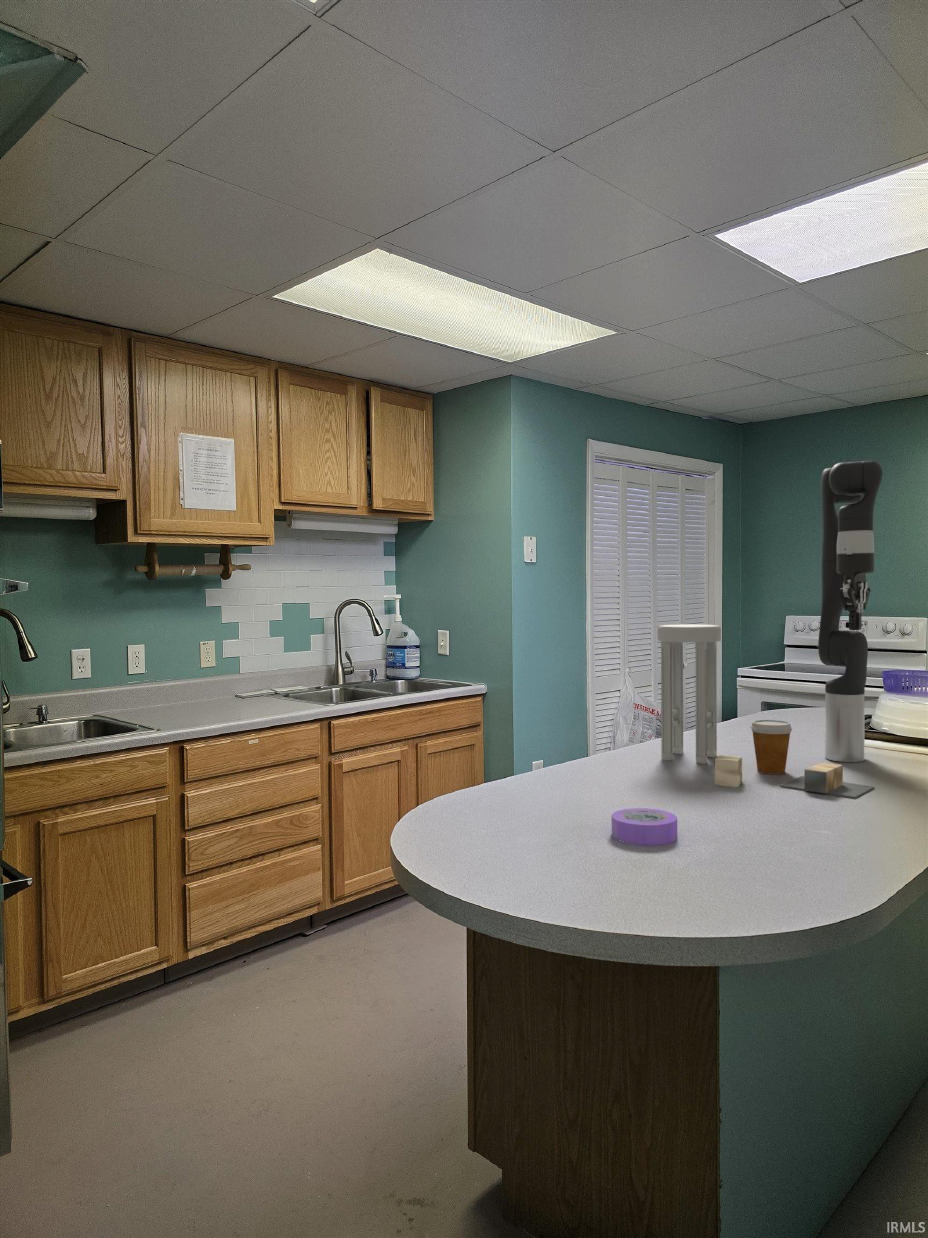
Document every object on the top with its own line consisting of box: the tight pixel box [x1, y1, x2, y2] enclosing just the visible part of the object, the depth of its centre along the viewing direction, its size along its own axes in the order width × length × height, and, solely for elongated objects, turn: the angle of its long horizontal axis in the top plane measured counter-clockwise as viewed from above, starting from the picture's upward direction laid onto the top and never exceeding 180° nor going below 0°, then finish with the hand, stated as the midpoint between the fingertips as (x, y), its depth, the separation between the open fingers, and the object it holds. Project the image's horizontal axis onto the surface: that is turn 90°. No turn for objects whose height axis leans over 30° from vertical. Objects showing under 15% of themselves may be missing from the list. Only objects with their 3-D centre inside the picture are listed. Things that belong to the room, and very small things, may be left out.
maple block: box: [714, 754, 743, 788], centre depth 187 cm, size 5×5×6 cm
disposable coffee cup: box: [750, 719, 793, 775], centre depth 198 cm, size 10×10×12 cm
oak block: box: [803, 761, 844, 794], centre depth 180 cm, size 4×4×10 cm
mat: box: [779, 775, 875, 800], centre depth 182 cm, size 12×16×1 cm
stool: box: [657, 623, 722, 765], centre depth 215 cm, size 16×16×35 cm
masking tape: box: [611, 807, 678, 846], centre depth 148 cm, size 12×12×4 cm
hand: (855, 630), depth 182 cm, fingers closed
